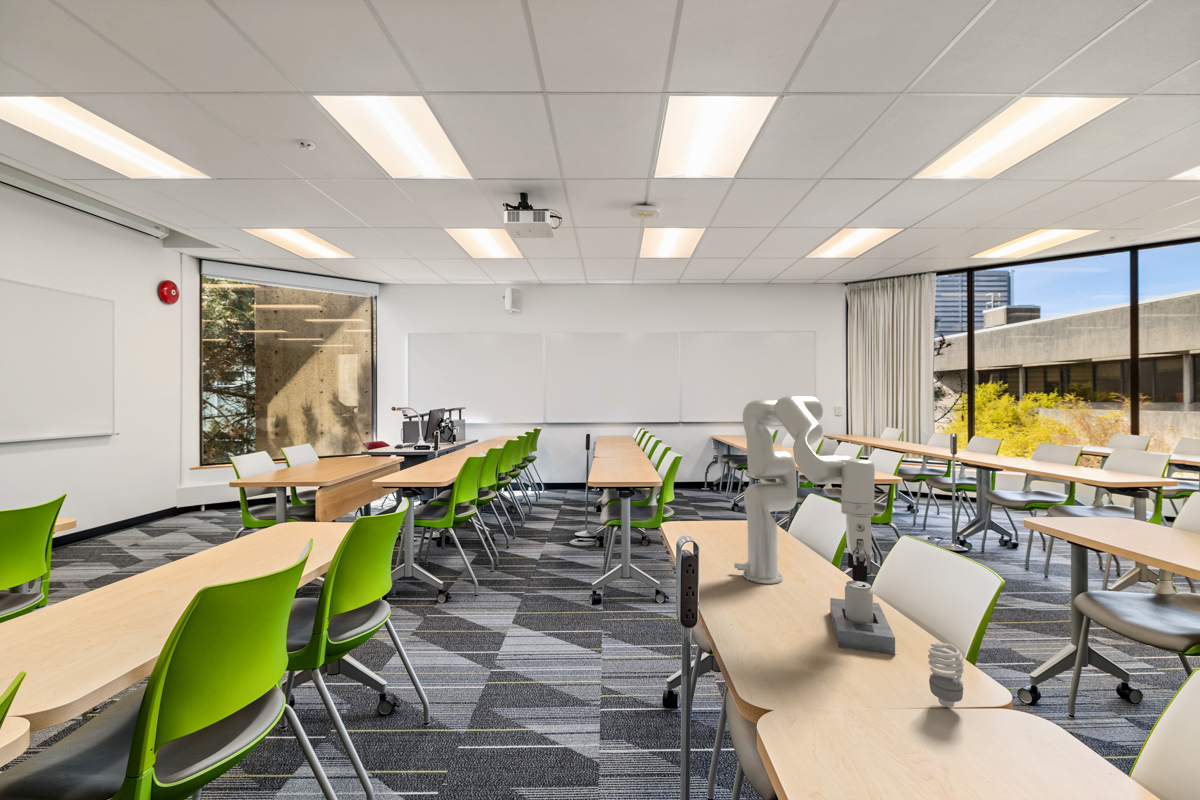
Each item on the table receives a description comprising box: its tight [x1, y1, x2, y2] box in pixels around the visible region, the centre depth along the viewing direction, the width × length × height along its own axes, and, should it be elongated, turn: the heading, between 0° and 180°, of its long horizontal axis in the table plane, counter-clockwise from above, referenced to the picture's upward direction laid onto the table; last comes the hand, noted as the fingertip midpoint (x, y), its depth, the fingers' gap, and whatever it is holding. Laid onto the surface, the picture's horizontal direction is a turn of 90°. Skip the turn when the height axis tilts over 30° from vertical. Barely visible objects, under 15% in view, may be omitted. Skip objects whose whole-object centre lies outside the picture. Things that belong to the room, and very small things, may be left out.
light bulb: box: [927, 641, 965, 709], centre depth 97 cm, size 6×6×12 cm
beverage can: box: [844, 580, 874, 623], centre depth 130 cm, size 6×6×12 cm
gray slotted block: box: [829, 597, 896, 656], centre depth 129 cm, size 12×22×4 cm, turn 160°
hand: (857, 574), depth 130 cm, fingers open, 9 cm apart
